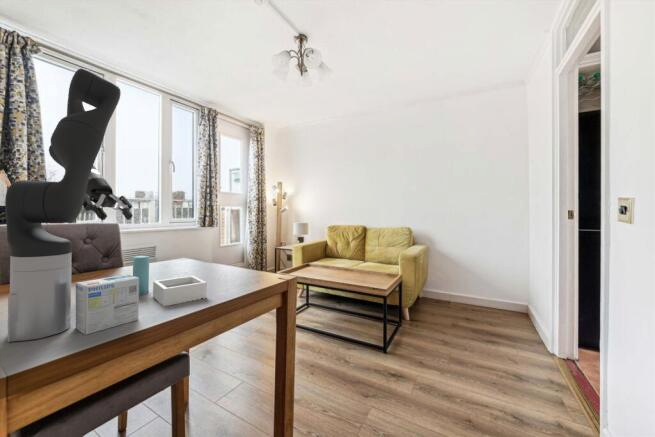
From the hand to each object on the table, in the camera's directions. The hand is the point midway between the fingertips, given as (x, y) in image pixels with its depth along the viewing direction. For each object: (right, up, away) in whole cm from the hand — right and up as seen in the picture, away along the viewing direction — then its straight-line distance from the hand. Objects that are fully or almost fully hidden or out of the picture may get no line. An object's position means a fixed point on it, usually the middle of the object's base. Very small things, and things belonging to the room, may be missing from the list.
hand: (118, 218), depth 91 cm
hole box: (+24, -25, -6) cm, 35 cm away
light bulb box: (+19, -26, -27) cm, 41 cm away
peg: (+9, -25, -2) cm, 27 cm away
